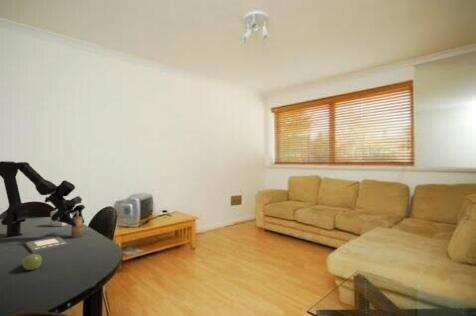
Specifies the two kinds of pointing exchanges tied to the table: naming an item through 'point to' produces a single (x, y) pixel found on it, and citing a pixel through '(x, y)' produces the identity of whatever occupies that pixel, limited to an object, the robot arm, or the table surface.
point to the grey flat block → (46, 244)
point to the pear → (32, 261)
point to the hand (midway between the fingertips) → (79, 224)
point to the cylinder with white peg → (77, 226)
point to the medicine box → (56, 221)
